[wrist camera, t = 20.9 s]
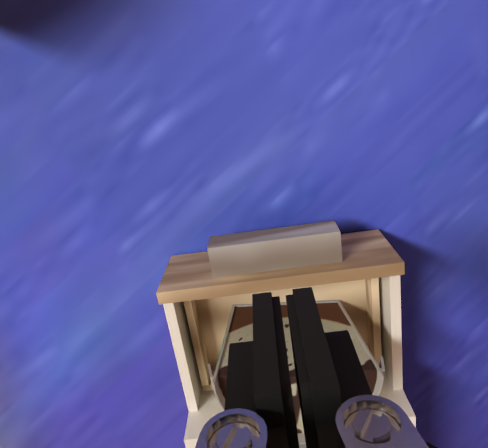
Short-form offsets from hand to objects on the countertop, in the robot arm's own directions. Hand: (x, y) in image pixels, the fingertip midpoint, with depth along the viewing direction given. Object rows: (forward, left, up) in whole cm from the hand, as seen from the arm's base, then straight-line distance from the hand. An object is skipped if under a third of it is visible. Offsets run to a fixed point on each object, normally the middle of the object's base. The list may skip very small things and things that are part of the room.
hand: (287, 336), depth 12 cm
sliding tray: (-12, 0, -25) cm, 28 cm away
